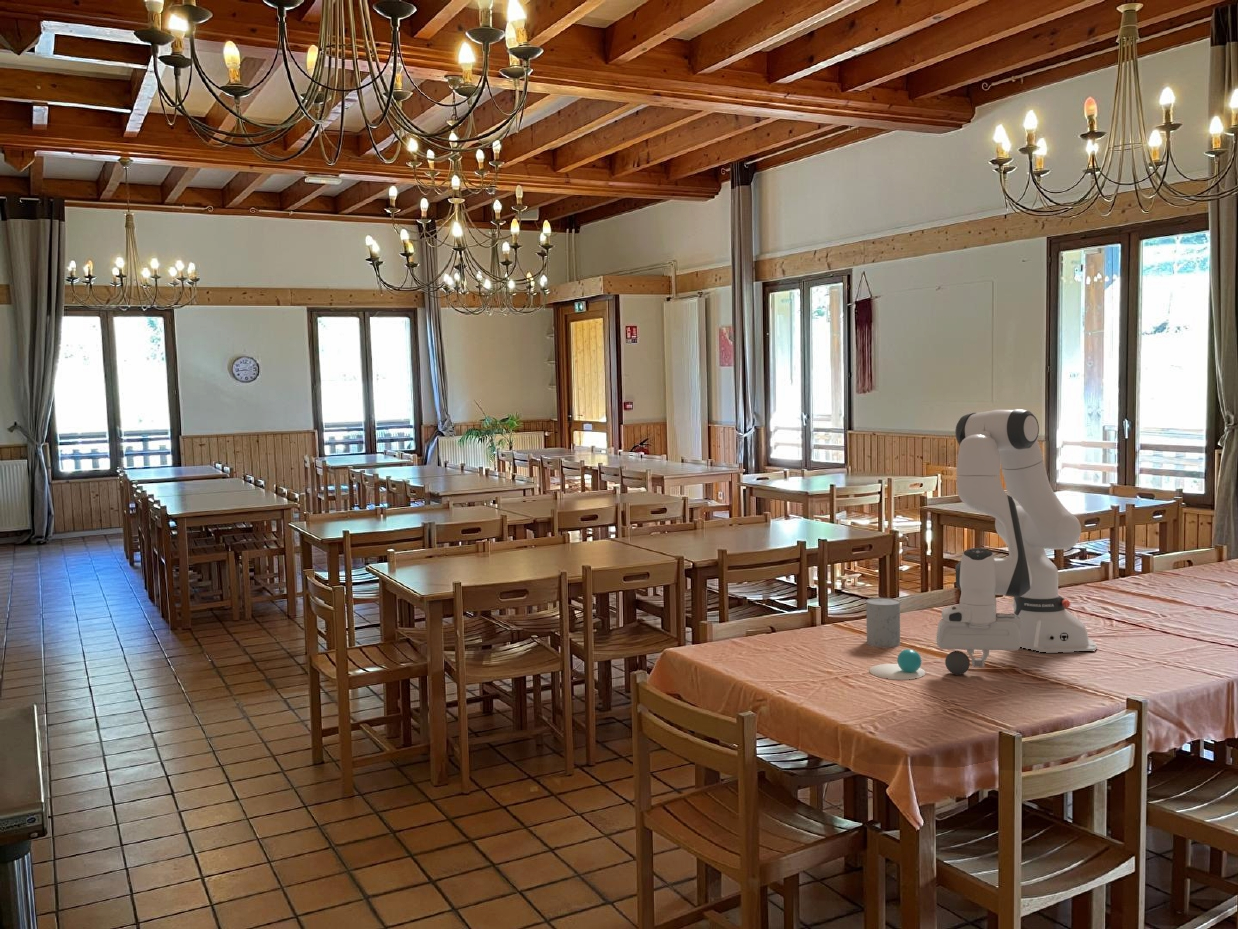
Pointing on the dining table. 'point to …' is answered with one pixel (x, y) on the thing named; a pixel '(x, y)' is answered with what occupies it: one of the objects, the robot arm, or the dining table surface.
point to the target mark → (895, 672)
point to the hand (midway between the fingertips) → (978, 666)
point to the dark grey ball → (957, 662)
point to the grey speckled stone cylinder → (883, 622)
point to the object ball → (909, 660)
